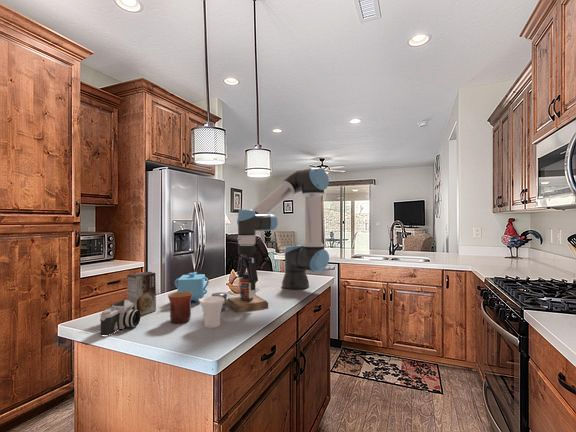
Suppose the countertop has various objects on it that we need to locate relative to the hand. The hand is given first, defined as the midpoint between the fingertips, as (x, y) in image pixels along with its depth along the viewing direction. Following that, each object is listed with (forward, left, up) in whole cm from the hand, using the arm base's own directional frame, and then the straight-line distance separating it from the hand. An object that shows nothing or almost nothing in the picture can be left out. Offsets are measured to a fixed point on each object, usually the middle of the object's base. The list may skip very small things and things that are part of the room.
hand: (246, 294), depth 137 cm
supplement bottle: (0, 0, -2) cm, 2 cm away
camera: (+48, +4, -5) cm, 49 cm away
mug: (+29, +4, -5) cm, 30 cm away
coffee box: (+41, -13, -5) cm, 43 cm away
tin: (+12, -1, -5) cm, 13 cm away
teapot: (+18, -25, -5) cm, 31 cm away
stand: (0, 0, -5) cm, 5 cm away
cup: (+20, +17, -5) cm, 27 cm away
